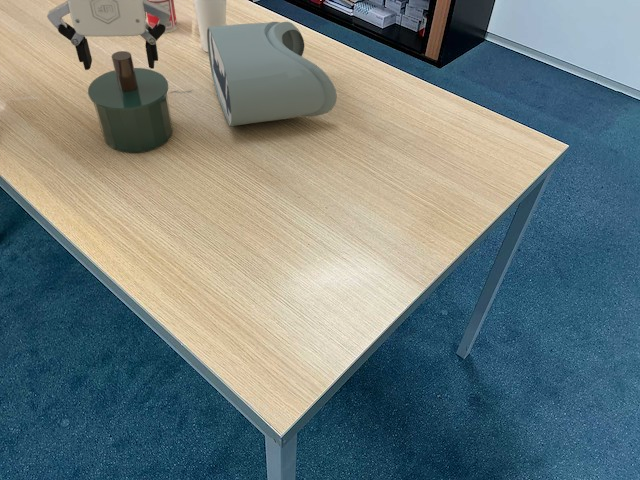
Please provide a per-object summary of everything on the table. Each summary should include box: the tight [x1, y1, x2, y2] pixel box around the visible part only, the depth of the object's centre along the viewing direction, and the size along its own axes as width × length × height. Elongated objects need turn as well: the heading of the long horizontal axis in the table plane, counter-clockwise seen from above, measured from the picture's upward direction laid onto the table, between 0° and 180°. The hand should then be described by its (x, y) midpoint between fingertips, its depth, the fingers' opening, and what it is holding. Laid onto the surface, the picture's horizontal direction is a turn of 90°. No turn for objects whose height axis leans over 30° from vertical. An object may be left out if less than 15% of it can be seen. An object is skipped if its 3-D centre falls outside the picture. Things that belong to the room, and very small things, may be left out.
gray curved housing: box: [207, 21, 338, 127], centre depth 100 cm, size 22×19×13 cm
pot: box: [93, 93, 174, 154], centre depth 92 cm, size 12×12×8 cm
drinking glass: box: [192, 0, 227, 54], centre depth 113 cm, size 7×7×15 cm
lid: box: [87, 50, 169, 111], centre depth 87 cm, size 13×13×7 cm
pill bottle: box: [146, 0, 178, 34], centre depth 119 cm, size 6×6×11 cm
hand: (120, 65), depth 86 cm, fingers open, 9 cm apart
